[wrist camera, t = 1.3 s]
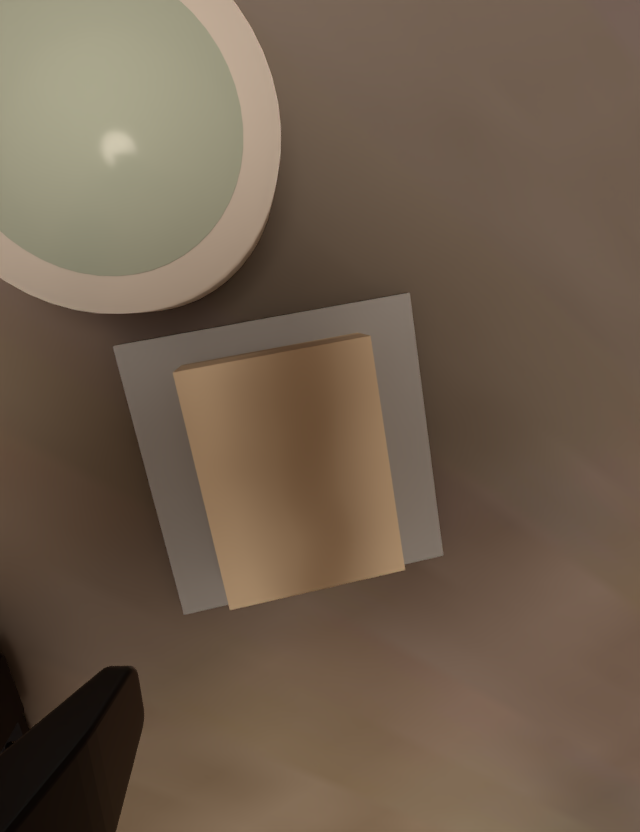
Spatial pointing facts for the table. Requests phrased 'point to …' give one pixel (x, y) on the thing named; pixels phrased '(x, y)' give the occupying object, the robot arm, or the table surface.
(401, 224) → the table surface
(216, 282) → the bowl
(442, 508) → the table surface
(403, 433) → the mat
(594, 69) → the table surface
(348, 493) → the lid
